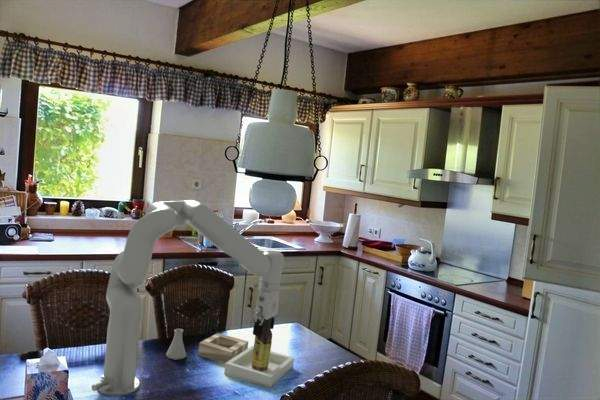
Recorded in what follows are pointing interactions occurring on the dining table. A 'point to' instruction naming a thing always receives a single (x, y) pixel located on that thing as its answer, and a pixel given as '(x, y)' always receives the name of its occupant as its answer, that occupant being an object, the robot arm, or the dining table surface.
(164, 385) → the dining table surface
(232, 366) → the tray
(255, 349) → the sauce bottle
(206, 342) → the shallow rimmed box
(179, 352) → the flask
